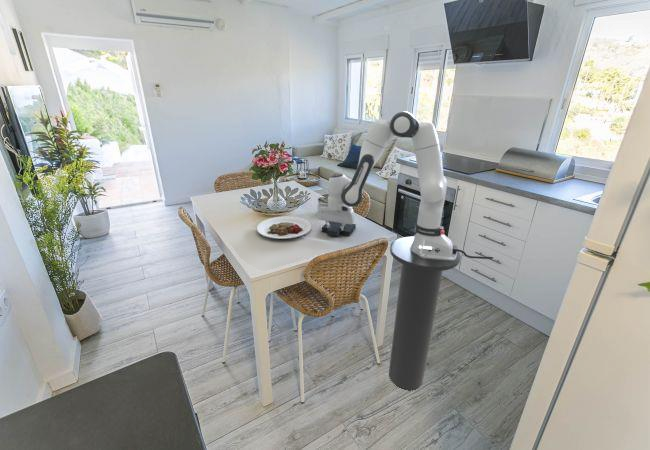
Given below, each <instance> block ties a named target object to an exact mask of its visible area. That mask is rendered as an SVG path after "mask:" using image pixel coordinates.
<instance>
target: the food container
mask: <svg viewBox="0 0 650 450" xmlns="http://www.w3.org/2000/svg"><path fill="white" fill-rule="evenodd" d="M317 201H318V204H319V203H327V204H328V197H326V196H323V197H318V198H317Z"/></svg>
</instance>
